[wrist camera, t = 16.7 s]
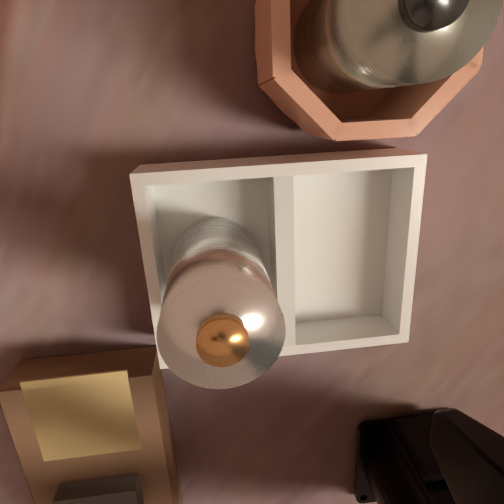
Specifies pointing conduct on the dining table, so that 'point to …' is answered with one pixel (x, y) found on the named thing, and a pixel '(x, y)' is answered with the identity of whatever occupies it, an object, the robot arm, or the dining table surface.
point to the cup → (342, 104)
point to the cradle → (93, 428)
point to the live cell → (219, 308)
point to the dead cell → (389, 41)
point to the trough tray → (301, 235)
